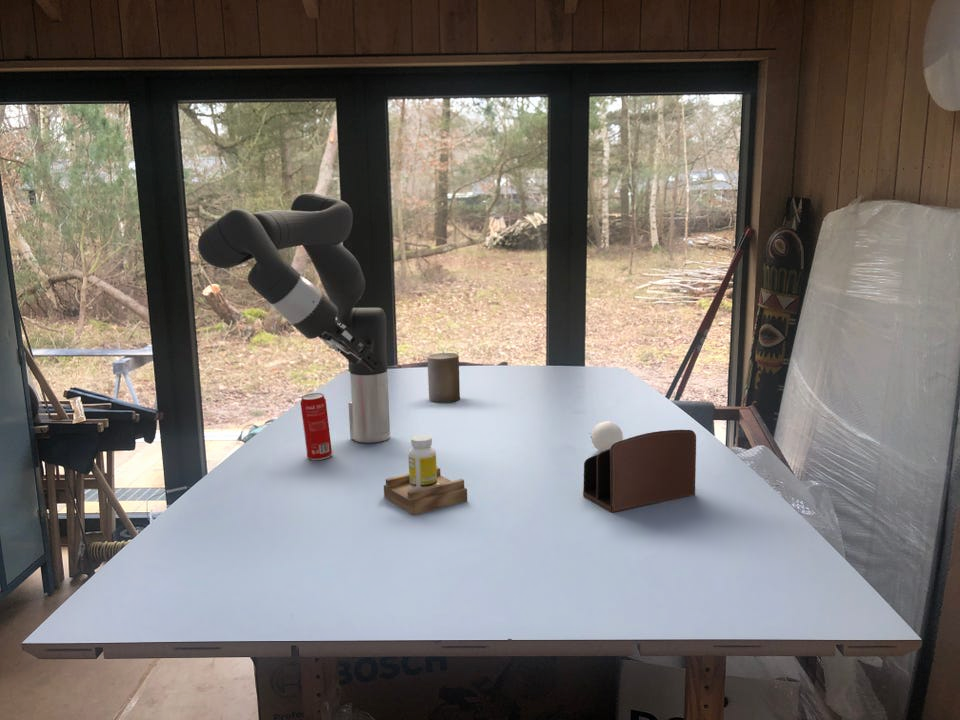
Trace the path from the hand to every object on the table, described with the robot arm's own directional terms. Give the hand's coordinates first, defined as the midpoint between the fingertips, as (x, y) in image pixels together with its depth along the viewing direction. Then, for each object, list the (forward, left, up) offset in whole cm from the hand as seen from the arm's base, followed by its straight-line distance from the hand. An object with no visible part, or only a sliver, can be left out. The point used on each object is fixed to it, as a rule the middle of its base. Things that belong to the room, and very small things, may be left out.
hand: (367, 363), depth 138 cm
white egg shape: (+28, +53, -29) cm, 66 cm away
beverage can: (-32, +24, -29) cm, 49 cm away
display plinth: (+5, +10, -29) cm, 31 cm away
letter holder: (+44, +27, -29) cm, 59 cm away
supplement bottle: (+5, +10, -26) cm, 28 cm away
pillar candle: (-32, +86, -29) cm, 96 cm away
